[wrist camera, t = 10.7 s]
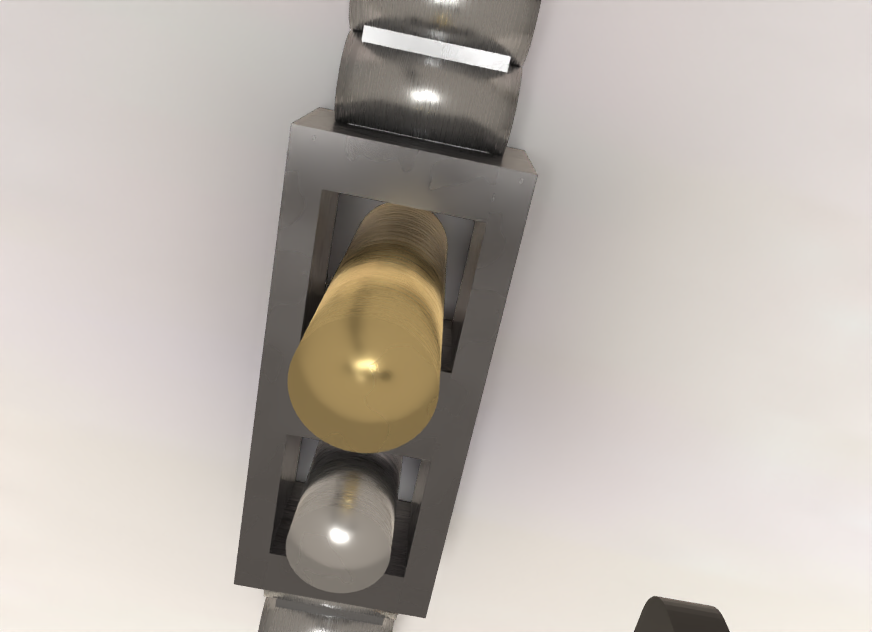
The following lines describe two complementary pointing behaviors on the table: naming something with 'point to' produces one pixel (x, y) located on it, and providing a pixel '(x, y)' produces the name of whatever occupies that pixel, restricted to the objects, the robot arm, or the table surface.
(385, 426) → the brass pin
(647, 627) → the robot arm
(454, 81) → the dark grey slotted block
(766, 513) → the table surface
